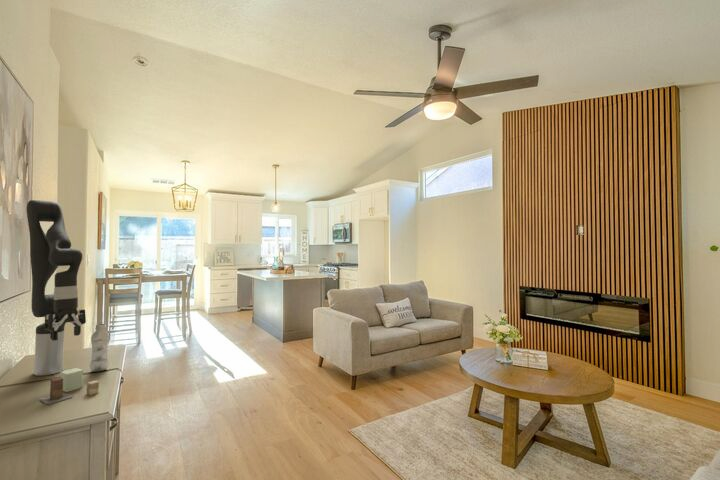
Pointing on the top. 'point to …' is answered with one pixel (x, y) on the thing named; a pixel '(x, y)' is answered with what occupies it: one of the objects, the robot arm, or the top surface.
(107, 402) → the top surface
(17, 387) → the top surface
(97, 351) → the plastic bottle
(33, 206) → the robot arm
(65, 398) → the walnut post
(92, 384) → the maple post
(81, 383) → the pale green eraser block
